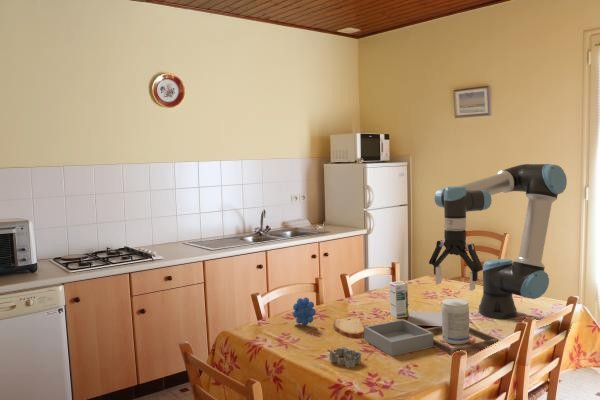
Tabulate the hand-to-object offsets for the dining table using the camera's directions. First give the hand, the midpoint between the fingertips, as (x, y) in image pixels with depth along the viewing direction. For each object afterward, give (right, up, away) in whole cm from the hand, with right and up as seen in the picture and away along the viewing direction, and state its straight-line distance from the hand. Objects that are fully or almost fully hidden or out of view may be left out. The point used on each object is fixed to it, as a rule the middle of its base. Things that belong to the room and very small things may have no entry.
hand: (455, 286), depth 187 cm
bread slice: (-36, -21, +18) cm, 45 cm away
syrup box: (-14, -18, +32) cm, 40 cm away
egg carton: (-41, -23, -14) cm, 50 cm away
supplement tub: (+1, -20, +2) cm, 21 cm away
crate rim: (+1, -20, +2) cm, 20 cm away
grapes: (-54, -20, +24) cm, 63 cm away
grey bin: (-21, -21, +1) cm, 30 cm away
